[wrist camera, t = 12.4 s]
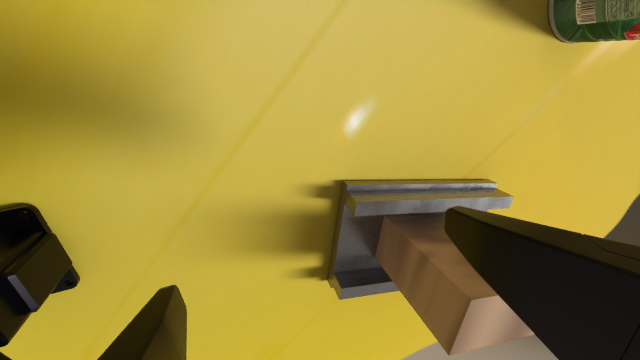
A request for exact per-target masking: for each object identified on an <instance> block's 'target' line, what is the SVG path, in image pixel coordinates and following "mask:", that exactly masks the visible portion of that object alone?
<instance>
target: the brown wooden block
mask: <svg viewBox="0 0 640 360" xmlns="http://www.w3.org/2000/svg"><path fill="white" fill-rule="evenodd" d="M445 214H446V212H443V213H421V214H399V215H384V219H383V223H382V228H381V232H380V236H379V241H378V245H377V250H376V254H375V258H376V260H377V261H378V262H379V264H380V265H381V266H382V268H383V269H384V270H385V272H386V273H387V274H388V276H389V277H390V278H391V280H392V281H393V282H394V284H395V285H396V286H397V288H398V289H399V290H400V291H401V293H402V294H403V295H404V297H405V298H406V299H407V301H408V302H409V303H410V305H411V306H412V307H413V309H414V310H415V311H416V313H417V314H418V315H419V317H420V318H421V319H422V321H423V322H424V323H425V325H426V326H427V327H428V328H429V330H430V331H431V332H432V334H433V335H434V336H435V338H436V339H437V340H438V342H439V343H440V344H441V346H442V347H443V348H444V350H445V351H446V352H447V354H448V355H449V356H450V355H453V354H458V353H461V352H465V351H470V350H473V349H478V348H482V347H486V346H490V345H494V344H498V343H502V342H506V341H510V340H514V339H518V338H522V337H525V336H529V335H534V333H533V332H532V331H531V330H530V329H529V328H528V326H527V325H526V324H525V323H524V322H523V321H522V320H521V319H520V318H519V317H518V316H517V315H516V314H515V313H514V312H513V310H512V309H511V308H510V307H509V306H508V305H507V304H506V303H505V302H504V301H503V300H502V299H501V298H500V297H499V296H498V295H497V293H496V292H495V291H494V290H493V289H492V288H491V287H490V286H489V285H488V284H487V283H486V282H485V281H484V280H483V279H482V278H481V276H480V275H479V274H478V273H477V272H476V271H475V270H474V269H473V268H472V266H471V265H470V264H469V263H468V261H467V260H466V259H465V258H464V256H463V255H462V254H461V252H460V251H459V250H458V249H457V247H456V246H455V245H454V243H453V242H452V241H451V240H450V238H449V237H448V236H447V234H446V233H445V230H444V224H445Z"/></svg>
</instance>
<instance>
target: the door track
mask: <svg viewBox="0 0 640 360" xmlns="http://www.w3.org/2000/svg"><path fill="white" fill-rule="evenodd" d="M496 185H497V183H496V182H493V181H491V180H489V179H481V180H351V181H343V184H342V190H341V197H340V203H339V210H338V216H337V223H336V229H335V236H334V242H333V249H332V255H331V262H330V268H329V275H328V282H329V285H330V287H331V288H333V287H334V289H335V292H336V294H337V296H338V298H339V300H341V299H347V298H354V297H361V296H367V295H374V294H380V293H387V292H393V291H400V290H399V289H398V288H397V286H396V285H395V284H394V282H393V281H392V280H391V278H390V277H389V276H388V274H387V273H386V272H385V270H384V269H383V268H382V266H381V265H380V264H379V262H378V261H377V260H376V258H375V254H376V250H377V245H378V241H379V236H380V232H381V228H382V223H383V219H384V215H399V214H421V213H443V212H446V210H447V209H448V208H450V207H454V206H463V207H467V208H471V209H476V210H480V211H485V212H487V210H488V209H502V208H509V207H510V205H511V202H512V200H513V197H514V196H511V195H509V194H507V193H505V192H503V191H501V190H499V189H497V188H496Z"/></svg>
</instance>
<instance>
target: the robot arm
mask: <svg viewBox="0 0 640 360" xmlns="http://www.w3.org/2000/svg"><path fill="white" fill-rule="evenodd" d="M24 211H26V212H29V213H30V215H26V214H25V213H24ZM444 230H445V233H446V234H447V236H448V237H449V238H450V240H451V241H452V242H453V243H454V245H455V246H456V247H457V249H458V250H459V251H460V252H461V254H462V255H463V256H464V258H465V259H466V260H467V261H468V263H469V264H470V265H471V266H472V268H473V269H474V270H475V271H476V272H477V273H478V274H479V275H480V276H481V278H482V279H483V280H484V281H485V282H486V283H487V284H488V285H489V286H490V287H491V288H492V289H493V290H494V291H495V292H496V293H497V295H498V296H499V297H500V298H501V299H502V300H503V301H504V302H505V303H506V304H507V305H508V306H509V307H510V308H511V309H512V310H513V312H514V313H515V314H516V315H517V316H518V317H519V318H520V319H521V320H522V321H523V322H524V323H525V324H526V325H527V326H528V328H529V329H530V330H531V331H532V332H533V333H534V334H535V335H536V336H537V337H538V338H539V339H540V340H541V341H542V342H543V343H544V344H545V346H546V347H547V348H548V349H549V350H550V351H551V352H552V353H553V354H554V355H555V356H556V357H557V358H558V359H559V360H640V246H637V245H632V244H626V243H622V242H617V241H612V240H608V239H603V238H599V237H594V236H590V235H586V234H583V235H582V234H581V233H577V232H572V231H568V230H563V229H559V228H555V227H550V226H546V225H542V224H537V223H533V222H528V221H524V220H520V219H515V218H511V217H507V216H502V215H498V214H493V213H489V212H485V211H480V210H476V209H471V208H467V207H463V206H454V207H450V208H448V209H447V210H446V214H445V224H444ZM67 280H71V281H72V282H69V281H67ZM79 281H80V277H79V275H78V274H77V272H76V270H75V269H74V267H73V266H72V261H71V260H70V258H69V256H68V255H67V253H66V251H65V250H64V248H63V246H62V245H61V243H60V242H59V240H58V238H57V237H56V235H55V234H54V233H52V231H51V229H50V228H49V226H48V225H47V223H46V221H45V220H44V218H43V216H42V215H41V213H40V211H39V210H38V209H37V208H36V207H35V206H33V205H20V206H15V207H10V208H5V209H0V347H3V346H6V345H8V343H9V342H10V341H11V339H12V338H13V337H14V336H15V334H16V333H17V332H18V330H19V329H20V328H21V326H22V325H23V324H24V322H25V321H26V320H27V319H28V317H29V316H30V315H31V313H34V312H37V311H38V310H39V308H40V307H41V306H42V304H43V303H44V302H45V300H46V299H47V298H48V296H49V295H50V294H53V293H57V292H60V291H64V290H68V289H72V288H74V287H76V286H77V284H78V283H79ZM186 340H187V310H186V305H185V303H184V300H183V298H182V296H181V293H180V291H179V288H178V287H177V286H176V285H171V286H167V287H164V288H161V289H159V290H158V291H157V292H156V293H155V295H154V296H153V297H152V298H151V299H150V300H149V301H148V303H147V304H146V305H145V306H144V307H143V308H142V309H141V311H140V312H139V313H138V314H137V315H136V316H135V317H134V319H133V320H132V321H131V322H130V323H129V324H128V325H127V326H126V328H125V329H124V330H123V331H122V332H121V333H120V334H119V336H118V337H117V338H116V339H115V340H114V341H113V342H112V344H111V345H110V346H109V347H108V348H107V349H106V350H105V352H104V353H103V354H102V355H101V356H100V357H99V358H98V359H97V360H186ZM0 360H12V359H10V358H9V357H7V356H6V355H4V354H3V353H1V352H0Z"/></svg>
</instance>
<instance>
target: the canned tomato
mask: <svg viewBox="0 0 640 360" xmlns="http://www.w3.org/2000/svg"><path fill="white" fill-rule="evenodd" d="M548 11H549V21H550V25H551V28H552V30H553V32H554V34H555V35H556V37H557V38H558V39H559V40H561V41H563V42H565V43H578V42H598V41H621V40H640V0H549V10H548Z"/></svg>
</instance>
